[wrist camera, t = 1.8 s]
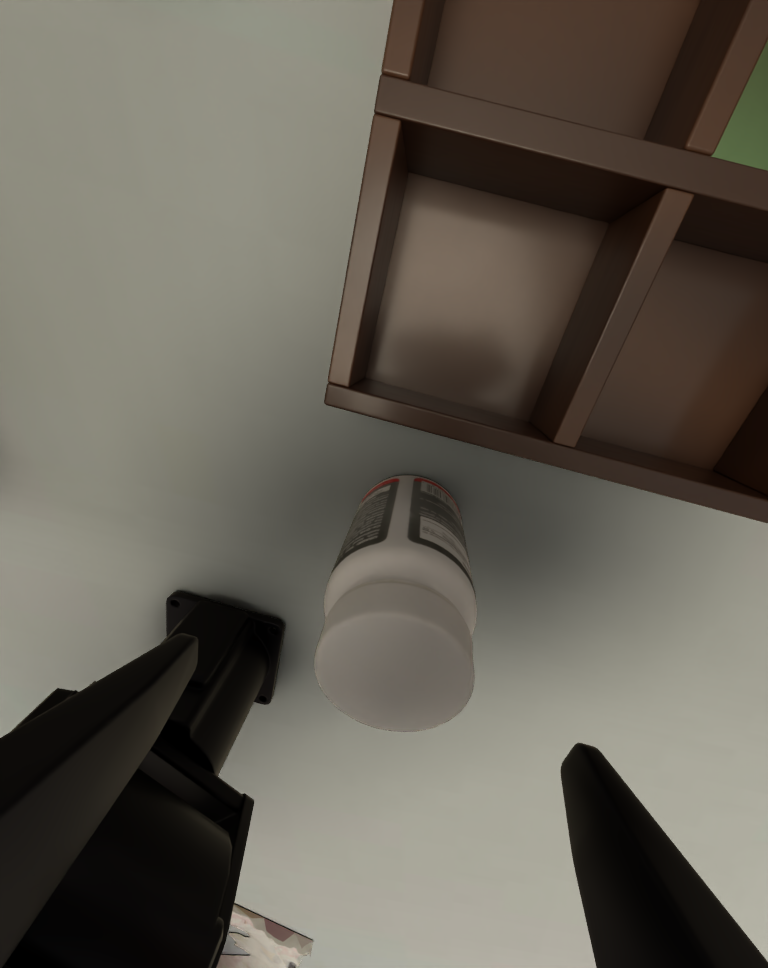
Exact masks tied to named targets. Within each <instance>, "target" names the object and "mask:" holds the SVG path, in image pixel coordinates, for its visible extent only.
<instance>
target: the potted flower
mask: <svg viewBox="0 0 768 968" xmlns="http://www.w3.org/2000/svg"><path fill="white" fill-rule="evenodd" d="M230 925H232V926H234V927H236V928H238V929H240V930H243V931H245V932H247V933H248V935H249V936H250V937H244V936H242V935H240V934H237V933H229V934H228V935H230V936H231V937H232V938H233V939H234V940H235V942H236V944H234V945H235V946H237V947H239V948H241V949H243V950H245V951H246V952H247V953H249V954H250V956H239V955H236V956H232V955H221V956H220V959H219V962H218V965H217V967H216V968H295V966H297V967H298V966H299V965H300V963H301V960H302V957H303V956H307V955H308V954H310V955H311V950H312V945H313V941H312V940H310V939H308V938H305V937H303V936H301V935H299V934H297V933H295V932H293V931H290V930H288V929H286V928H284V927H282V926H280V925H278V924H276V923H273V922H271V921H269V920H267V919H265V918H263V917H261V916H258V915H256V914H254V913H252V912H250V911H248V910H246V909H244V908H241V907H239V906H237V905H235V904H234V906H233V911H232V916H231V921H230Z"/></svg>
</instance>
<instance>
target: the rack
mask: <svg viewBox="0 0 768 968" xmlns="http://www.w3.org/2000/svg"><path fill="white" fill-rule="evenodd" d="M374 113H375V114H374V116H373V121H372V127H371V132H370V138H369V144H368V150H367V155H366V161H365V167H364V173H363V179H362V184H361V190H360V196H359V202H358V208H357V213H356V219H355V225H354V231H353V237H352V242H351V248H350V254H349V260H348V266H347V271H346V277H345V283H344V289H343V295H342V300H341V306H340V312H339V318H338V324H337V329H336V335H335V341H334V347H333V352H332V358H331V364H330V370H329V376H328V382H329V383H328V384H327V388H326V394H325V400H324V403H325V404H326V405H328V406H332V407H336V408H340V409H343V410H347V411H351V412H355V413H358V414H362V415H366V416H369V417H373V418H377V419H381V420H384V421H388V422H392V423H396V424H399V425H403V426H407V427H410V428H414V429H418V430H422V431H425V432H429V433H433V434H437V435H440V436H444V437H448V438H451V439H455V440H459V441H463V442H466V443H470V444H474V445H478V446H481V447H485V448H489V449H492V450H496V451H500V452H504V453H507V454H511V455H515V456H519V457H522V458H526V459H530V460H533V461H537V462H541V463H545V464H548V465H552V466H556V467H560V468H563V469H567V470H571V471H574V472H578V473H582V474H586V475H589V476H593V477H597V478H600V479H604V480H608V481H612V482H615V483H619V484H623V485H627V486H630V487H634V488H638V489H641V490H645V491H649V492H653V493H656V494H660V495H664V496H668V497H671V498H675V499H679V500H682V501H686V502H690V503H694V504H697V505H701V506H705V507H709V508H712V509H716V510H720V511H723V512H727V513H731V514H735V515H738V516H742V517H746V518H750V519H753V520H757V521H761V522H764V523H768V0H393V6H392V12H391V18H390V23H389V29H388V35H387V41H386V47H385V52H384V58H383V64H382V75H381V76H380V80H379V85H378V91H377V97H376V103H375V109H374Z"/></svg>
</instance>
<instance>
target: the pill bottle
mask: <svg viewBox="0 0 768 968" xmlns="http://www.w3.org/2000/svg"><path fill="white" fill-rule="evenodd" d="M324 614H325V619H326V621H325V624H324V627H323V630H322V633H321V636H320V639H319V642H318V645H317V648H316V652H315V657H314V670H315V675H316V678H317V681H318V684H319V686H320V688H321V689H322V691H323V692H324V694H325V695H326V696H327V698H328V699H329V700H330V701H331V702H332V703H333V704H334V705H335V706H336V707H337V708H338V709H339V710H341V711H342V712H343V713H345V714H346V715H348V716H350V717H351V718H353V719H355V720H357V721H359V722H361V723H363V724H366V725H369V726H372V727H375V728H378V729H383V730H389V731H398V732H413V731H420V730H426V729H430V728H433V727H436V726H438V725H440V724H443V723H445V722H447V721H449V720H450V719H452V718H453V717H455V716H456V715H457V714H458V713H460V712H461V711H462V709H463V708H464V707H465V706H466V704H467V702H468V701H469V699H470V697H471V694H472V691H473V687H474V665H473V654H472V650H473V649H472V638H471V637H472V634H473V632H474V629H475V625H476V619H477V606H476V596H475V590H474V586H473V580H472V575H471V570H470V564H469V558H468V554H467V548H466V542H465V537H464V531H463V525H462V518H461V515H460V512H459V509H458V506H457V504H456V502H455V501H454V499H453V498H452V496H451V495H450V494H449V493H448V492H447V491H446V490H445V489H444V488H443V487H442V486H440V485H439V484H437V483H435V482H434V481H431V480H429V479H426V478H423V477H419V476H412V475H401V476H395V477H391V478H388V479H386V480H384V481H382V482H380V483H378V484H377V485H375V486H374V487H373V488H371V489H370V490H369V491H368V493H367V494H366V495H365V496H364V498H363V500H362V501H361V503H360V505H359V507H358V510H357V512H356V514H355V517H354V519H353V522H352V524H351V527H350V529H349V531H348V534H347V536H346V539H345V541H344V543H343V546H342V548H341V551H340V553H339V556H338V558H337V561H336V563H335V565H334V568H333V570H332V573H331V575H330V578H329V581H328V584H327V587H326V591H325V597H324Z"/></svg>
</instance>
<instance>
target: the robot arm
mask: <svg viewBox="0 0 768 968" xmlns="http://www.w3.org/2000/svg"><path fill="white" fill-rule="evenodd" d="M166 617H167V637H166V638H165V639H164V641H163V642H162V643H161V644H160V645H159V646H157V647H155V648H153V649H152V650H150V651H148V652H147V653H145V654H143V655H141V656H140V657H138V658H136V659H135V660H133V661H131V662H129V663H128V664H126V665H124V666H123V667H121V668H119V669H118V670H116V671H114V672H112V673H111V674H109V675H107V676H106V677H104V678H102V679H100V680H99V681H97V682H96V681H94V682H93V683H92V684H90V685H89V686H88V687H87V688H85V689H83V690H82V691H80V692H78V691H76V690H75V691H71V690H65V689H59V688H57V689H56V690H55V691H54V692H52V693H51V694H50V695H49V696H48V697H47V698H46V699H45V700H44V701H43V702H42V703H41V704H39V705H38V706H37V707H36V708H35V709H34V710H33V711H32V712H31V713H30V714H29V715H28V716H27V717H26V718H25V719H23V720H22V721H21V722H20V723H19V724H18V725H17V726H16V727H15V728H14V729H13V730H12V731H11V732H10V733H8V734H7V735H5V736H3V737H1V738H0V968H216V967H217V965H218V962H219V959H220V956H221V953H222V950H223V948H224V945H225V941H226V937H227V933H228V930H229V926H230V921H231V916H232V911H233V906H234V901H235V896H236V891H237V886H238V881H239V876H240V871H241V866H242V861H243V856H244V851H245V846H246V841H247V836H248V831H249V826H250V821H251V816H252V811H253V806H254V800H253V799H252V798H250V797H249V796H248V795H246V794H240V793H239V792H238V791H236V790H235V789H234V788H232V787H231V786H230V785H228V784H227V783H226V782H224V781H223V780H222V779H220V778H219V777H218V774H219V772H220V770H221V768H222V766H223V764H224V762H225V760H226V758H227V756H228V754H229V752H230V750H231V748H232V746H233V744H234V742H235V740H236V737H237V735H238V733H239V731H240V729H241V727H242V725H243V723H244V721H245V719H246V717H247V715H248V713H249V711H250V709H251V707H252V705H253V702H256V703H260V704H264V705H266V704H269V703H270V702H271V700H272V697H273V695H274V689H275V684H276V678H277V672H278V666H279V660H280V655H281V649H282V643H283V637H284V631H285V625H284V623H283V622H282V621H281V620H279V619H276V618H272V617H269V616H265V615H262V614H258V613H254V612H251V611H247V610H244V609H240V608H237V607H233V606H230V605H226V604H222V603H219V602H215V601H212V600H208V599H205V598H201V597H197V596H194V595H190V594H187V593H183V592H179V591H176V592H173V593H172V594H171V595H170V596H169V597H168V598H167V601H166ZM274 628H276V629H274ZM561 780H562V787H563V794H564V801H565V808H566V815H567V823H568V830H569V837H570V844H571V850H572V856H573V862H574V867H575V872H576V877H577V881H578V886H579V890H580V895H581V899H582V904H583V908H584V913H585V917H586V922H587V926H588V931H589V935H590V940H591V944H592V949H593V953H594V958H595V962H596V967H597V968H768V962H767V960H766V959H765V958H764V957H763V955H762V954H761V953H760V952H759V950H758V949H757V948H756V947H755V945H754V944H753V943H752V941H751V940H750V939H749V938H748V936H747V935H746V934H745V933H744V931H743V930H742V929H741V928H740V926H739V925H738V924H737V923H736V921H735V920H734V919H733V918H732V916H731V915H730V914H729V913H728V911H727V910H726V909H725V908H724V906H723V905H722V904H721V903H720V901H719V900H718V899H717V898H716V896H715V895H714V894H713V892H712V891H711V890H710V889H709V887H708V886H707V885H706V884H705V882H704V881H703V880H702V879H701V877H700V876H699V875H698V874H697V872H696V871H695V870H694V869H693V867H692V866H691V865H690V864H689V862H688V861H687V860H686V859H685V857H684V856H683V855H682V854H681V852H680V851H679V850H678V849H677V847H676V846H675V845H674V843H673V842H672V841H671V840H670V838H669V837H668V836H667V835H666V833H665V832H664V831H663V830H662V828H661V827H660V826H659V825H658V823H657V822H656V821H655V820H654V818H653V817H652V816H651V815H650V813H649V812H648V811H647V810H646V808H645V807H644V806H643V805H642V803H641V802H640V801H639V800H638V798H637V797H636V796H635V794H634V793H633V792H632V791H631V789H630V788H629V787H628V786H627V784H626V783H625V782H624V781H623V779H622V778H621V777H620V776H619V774H618V773H617V772H616V771H615V769H614V768H613V767H612V766H611V764H610V763H609V762H608V761H607V759H606V758H605V757H604V756H603V754H602V753H601V752H600V751H599V750H598V749H597V748H595V747H593V746H590V745H586V744H583V743H577V744H575V745H574V747H573V748H572V750H571V751H570V752H569V754H568V755H567V757H566V758H565V759H564V761H563V763H562V766H561Z"/></svg>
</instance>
